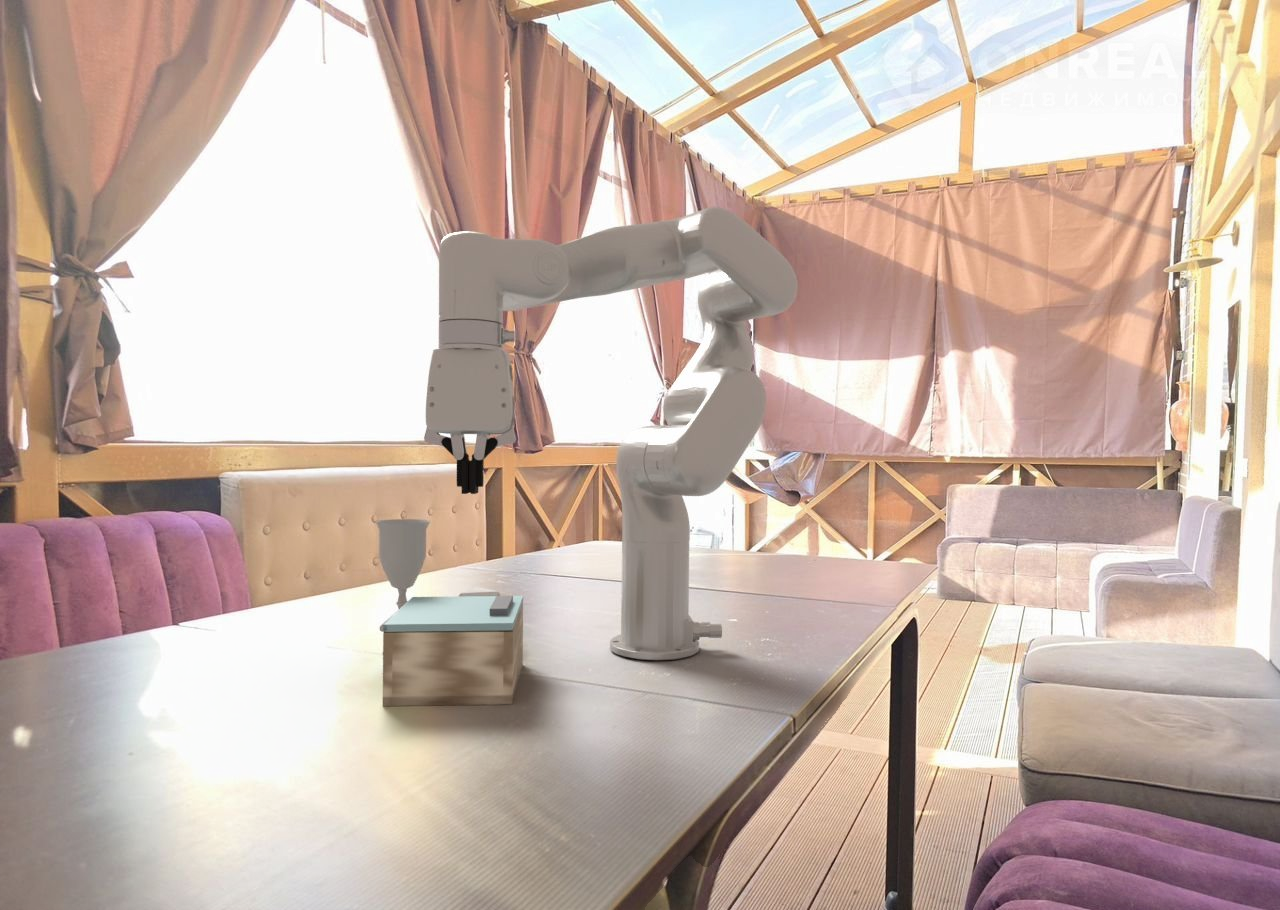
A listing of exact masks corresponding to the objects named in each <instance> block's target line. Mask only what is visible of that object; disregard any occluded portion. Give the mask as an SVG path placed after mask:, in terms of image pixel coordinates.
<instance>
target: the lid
mask: <svg viewBox="0 0 1280 910" xmlns="http://www.w3.org/2000/svg"><path fill="white" fill-rule="evenodd" d="M522 604H523V605H524V595H501V596H461V597H458V596H412V597H410V599H409V600H407V603H405V604H404V605H403V606H402V607H401V608H400V609H398V610H396V611H395V612H394V613H392V615H391V616H390V617H388V618H387V620H385V621H384V622H383V623H382V624H380V626H379V631H380V632H382V633H384V632H415V631H497V630H513V629H514V626H515V623H516V621H517V618H518V615H519V612H520V609H521V607H522Z"/></svg>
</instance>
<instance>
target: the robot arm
mask: <svg viewBox="0 0 1280 910" xmlns="http://www.w3.org/2000/svg"><path fill="white" fill-rule="evenodd" d="M705 274H707V275H706V276H705V277H704V279H702V281H701V283H700V285H699V287H698V288H699V289H698V291H697V292H698V293H697V306H698V309H699V310H698V311H699V315H700V317H701V323H702V331H703V332H702V333H703V335H702V340H701V343H700V344H699V347H698V348H697V350H696V351H695V352H694V354H693V356H692V357H691V358H690V360H689V361H688V362H687V364H686V365H685V367H684V368H683V370H682V371H681V373H679V375H678V376H677V378H676V379H675V381H674V382H673V384H672V385H671V386H670V388H669V389H668V391H667V393H666V396H665V397H664V400H663V406H662V409H663V410H662V412H663V417H664V420H665V422H666V423H667V424H661V425H660V424H659V425H656V424H655V425H647V426H642V427H639V428H636V429H634V430H632V431H631V432H630V433H628V434H627V435H626V436H625V437H624V438H623V440H622V442H620V445H619V447H618V449H617V454H616V462H615V463H616V474H617V480H618V486H619V492H620V497H621V498H620V500H621V512H622V513H621V514H622V519H621V520H622V523H621V524H622V528H621V529H622V530H621V531H622V535H621V536H622V537H621V538H622V539H621V598H620V599H621V600H620V601H621V602H620V603H621V609H620V610H621V611H620V612H621V613H620V614H621V617H620V619H621V621H620V634H618V635H616V636H613V637H612V638H611V639H610V642H609V649H610V650H611V652H612V653H614V654H616V655H618V656H621V657H625V658H629V659H636V660H646V661H669V660H679V659H685V658H688V657H691V656H693V655H696V654H697V653H698V652H699V651H700V642H699V641H700V638H708V639H712V638H713V639H722V637H723V628H722V627H723V626H722V624H721V623H711V622H710V621H702V622H698V621H694V620H693V619H692V617H691V616H690V614H689V609H690V608H689V603H690V602H689V601H690V599H689V595H690V594H689V593H690V590H689V589H690V539H691V538H690V537H691V536H690V535H691V530H690V529H691V527H690V526H691V525H690V518H689V513H688V509H687V505H686V503H685V500H684V498H683V496H685V497H701V496H702V497H703V496H707V495H709V494H711V493H714V492H715V491H716V490H718V489H719V488H721V486H722V485H723V484H724V482H726V480H727V479H728V478H729V476H730V475H731V473H732V472H733V470H734V468H735V467H736V466H737V464H738V463H739V461H740V459H741V458H742V456H743V455H744V453H745V451H746V450H747V448H748V447H749V445H750V444H751V442H752V440H753V439H754V437H755V436H756V434H757V433H758V430H759V429H760V427H761V426H762V423H763V421H764V418H765V414H766V409H767V393H766V388H765V386H764V384H763V382H762V380H761V378H760V377H759V376H758V375H757V374H756V373H755V372H753V371H752V367H753V365H754V361H755V351H754V346H753V343H752V341H751V337H750V334H749V330H748V326H747V322H746V321H750V320H754V319H760V318H765V317H766V318H767V317H771V316H776V315H779V314H781V313H783V312H785V311H787V310H788V309H789V308H790V307H791V306H792V305H793V304H794V303H795V300H796V298H797V294H798V279H797V275H796V271H794V268H793V267H792V265H791V263H790V262H789V260H788V259H787V258H786V257H785V256H784V255H783V254H782V253H781V252H780V251H779V250H777V249H776V248H775V247H774V245H772V244H771V243H770V242H769V241H767V239H765V237H764V236H762V235H761V234H760V233H759V232H758V231H757V230H756V229H754V228H753V226H751V225H750V224H749V223H747V222H746V221H745V220H744V219H743V218H741V217H740V216H738V215H737V214H735V213H734V212H732V211H730V210H728V209H726V208H724V207H720V206H710V207H706V208H703V209H701V210H698V211H695V212H693V213H690V214H687V215H684V216H681V217H677V218H672V219H666V220H658V221H654V222H653V221H651V222H644V223H637V224H630V225H629V224H628V225H622V226H613V227H610V228H605V229H602V230H599V231H595V232H592V233H590V234H587V235H585V236H583V237H580V238H577V239H573V240H571V241H568V242H564V243H562V244H557V245H556V244H554V243H552V242H550V241H547V240H543V239H535V238H534V239H533V238H529V239H528V238H525V239H524V238H521V239H519V238H499V237H496V236H492V235H489V234H486V233H482V232H477V231H458V232H453V233H449V234H447V235H445V236H444V237H443V238H442V239H441V242H440V243H439V250H438V348H435V349H433V350H432V353H431V358H430V364H429V370H428V379H427V388H426V399H425V401H426V402H425V425H426V428H425V432H424V437H423V440H424V441H425V443H429V444H431V445H436V446H440V447H444V449H446V451H448V453H450V455H451V456H453V458H454V459H455V460H456V487H457V488H459V487H461V494H462V495H463V494H464V495H467V494H469V493H470V494H471V495H477V494H478V493H479V488H480V487H481V488H482V487H484V483H485V482H484V481H485V480H484V479H485V478H484V476H485V475H484V474H485V473H484V472H485V471H484V469H485V467H484V466H485V465H484V460H485V459H486V458H487V457H488V456H489V455H490V454H491V453H492V452H493V451H494V450H495V449H496V448H497V447H502V446H503V447H504V446H506V445H510V444H515V442H516V440H517V437H516V434H515V430H514V429H515V428H514V425H515V393H514V376H513V375H514V373H513V367H512V361H511V355H510V353H509V352H508V351H506V350H503V349H504V346H506V344H509V343H515V342H516V332H515V330H509V329H506V328H505V327H504V326H503V325H504V312H515V311H521V310H525V309H529V308H536V307H540V306H546V305H551V304H556V303H560V302H564V301H565V302H566V301H570V300H576V299H582V298H589V297H590V298H591V297H599V296H606V295H611V294H616V293H621V292H626V291H631V290H635V289H640V288H641V289H642V288H645V287H651V286H655V285H660V284H661V285H662V284H667V283H672V282H676V281H682V280H686V279H690V278H693V277H697V276H701V275H705ZM441 434H447V435H449V434H450V435H449V436H450V437H449V436H445V435H441ZM465 435H476V438H475V445H474V451H473V454H472V455H471V460H470V456H469V454H468V452H467V446H466V445H467V444H466V439H465ZM491 435H497V436H493V437H491Z"/></svg>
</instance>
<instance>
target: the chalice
mask: <svg viewBox="0 0 1280 910" xmlns="http://www.w3.org/2000/svg"><path fill="white" fill-rule="evenodd" d="M430 523H431V521H430V520H427V519H414V518H412V519H411V518H409V519H407V518H403V519H402V518H399V519H398V518H396V519H381V520H376V521H375V524H376V526H377V528H378V529H379V530H378V531H379V532H378V533H379V535H378V538H379V539H378V541H379V542H378V543H379V544H378V554H379V555H378V558H379V561H380V563H381V567H382V569H383V571H384V574H385V575H386V577H387V579H388V582H389V584H390V586H391V587H393V589H394V588H395V589H397V592H398V598H397V601H396V602H395V604H396V606H397V609H398V610H399V609H400V608H401V607H402V606H403V605H404V604H405V603H407V602H408V598H407V594H406V593H407V591H408V590H407V589H409V588H411V587H413V586H414V584H415V583H416V581H417V578H418V577H419V575H420V573H421V571H422V568H423V566H424V563H425V560H426V558H427V528H428V527H429V524H430Z"/></svg>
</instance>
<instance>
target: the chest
mask: <svg viewBox="0 0 1280 910" xmlns="http://www.w3.org/2000/svg"><path fill="white" fill-rule="evenodd" d="M382 633H383V634H382V636H383V637H382V638H383V639H382V640H383V641H382V707H395V706H396V707H399V706H400V707H404V706H405V707H408V706H409V707H410V706H411V707H412V706H470V705H471V706H475V705H476V706H480V705H481V706H483V705H484V706H487V705H495V706H496V705H513V702H514V700H515V695H516V690H517V687H518V683H519V679H520V675H521V672H522V667H523V662H524V661H523V656H524V655H523V654H524V653H523V651H524V650H523V648H524V646H523V645H524V644H523V643H524V641H523V639H524V603H523V604H522V607H521V609H520V612H519V615H518V618H517V621H516V623H515V626H514V629H513V630H497V631H415V632H382Z"/></svg>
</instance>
